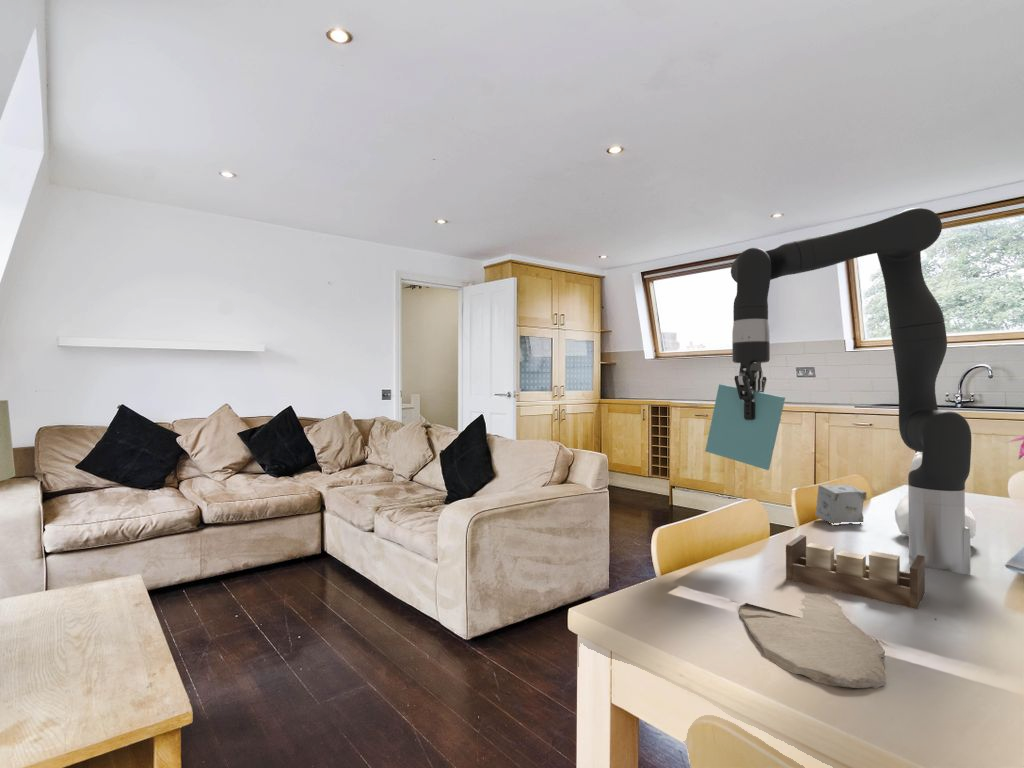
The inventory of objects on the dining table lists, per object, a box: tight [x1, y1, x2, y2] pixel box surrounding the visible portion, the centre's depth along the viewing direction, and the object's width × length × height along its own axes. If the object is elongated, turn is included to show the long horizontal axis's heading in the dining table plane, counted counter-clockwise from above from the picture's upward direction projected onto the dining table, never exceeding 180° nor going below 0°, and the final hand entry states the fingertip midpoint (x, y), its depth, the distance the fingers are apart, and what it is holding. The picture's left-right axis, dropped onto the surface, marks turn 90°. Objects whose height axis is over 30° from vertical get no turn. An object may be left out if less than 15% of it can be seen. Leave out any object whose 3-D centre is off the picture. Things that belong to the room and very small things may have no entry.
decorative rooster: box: [894, 451, 977, 539], centre depth 135 cm, size 25×16×25 cm, turn 138°
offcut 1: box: [806, 542, 835, 572], centre depth 100 cm, size 4×3×6 cm
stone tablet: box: [738, 592, 886, 689], centre depth 81 cm, size 16×30×2 cm, turn 167°
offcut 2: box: [868, 550, 901, 585], centre depth 93 cm, size 4×3×7 cm
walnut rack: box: [785, 534, 926, 610], centre depth 98 cm, size 20×10×8 cm, turn 46°
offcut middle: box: [835, 550, 867, 578], centre depth 96 cm, size 4×3×6 cm
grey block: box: [815, 484, 868, 524], centre depth 150 cm, size 10×8×10 cm
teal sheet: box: [704, 383, 786, 471], centre depth 119 cm, size 14×1×16 cm, turn 46°
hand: (751, 419), depth 118 cm, fingers closed on teal sheet, 1 cm apart
